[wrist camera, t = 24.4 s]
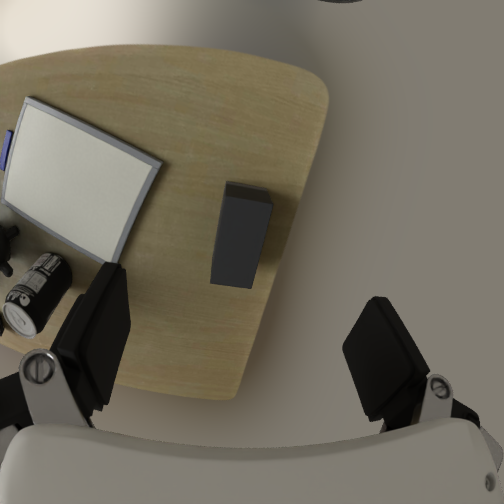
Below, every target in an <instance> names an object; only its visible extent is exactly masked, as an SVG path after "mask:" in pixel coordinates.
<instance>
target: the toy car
mask: <svg viewBox="0 0 504 504" xmlns="http://www.w3.org/2000/svg"><path fill="white" fill-rule="evenodd" d="M3 331H4V327H3V325H2V322H1V318H0V336H2V334H3Z"/></svg>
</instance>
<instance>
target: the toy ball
mask: <svg viewBox="0 0 504 504" xmlns="http://www.w3.org/2000/svg"><path fill="white" fill-rule="evenodd" d="M18 234H19V229H18V227H16V226H13V227H11V228H10V229H8V230H7V231H5V230H4V229H3V228H2V227H1V226H0V270H1V271H2V272H3V273H4V275H5V276H6V277H11V276H12V274H13V269H12V267H11V266H10V265H9V264H8V263H7V261H9V259H10V240H11V239H13V238H14V237H16V236H18Z"/></svg>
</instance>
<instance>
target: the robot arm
mask: <svg viewBox="0 0 504 504" xmlns="http://www.w3.org/2000/svg"><path fill="white" fill-rule="evenodd" d="M130 327H131V320H130V312H129V302H128V291H127V278H126V270H125V269H124V268H122V267H121V264H119V263H113V262H107V261H106V262H104V264H103V265H102V267H101V268H100V270H99V272H98V273H97V275H96V277H95V278H94V280H93V281H92V283H91V285H90V286H89V288H88V290H87V292H86V293H85V294H80V295H79V296H78V298H77V299H76V301H75V303H74V305H73V306H72V308H71V310H70V312H69V313H68V315H67V317H66V319H65V321H64V323H63V324H62V326H61V328H60V330H59V332H58V334H57V336H56V338H55V340H54V342H53V344H52V346H51V348H50V350H47V349H40V348H39V349H34V350H32V351H30V352H28V353H27V354H26V355H25V356H24V357H23V358H22V360H21V362H20V365H19V372H17V373H15V374H12V375H9V376H8V377H5V378H2V379H0V465H1V463H2V462H3V463H2V466H1V470H0V504H504V496H503V491H502V487H501V484H500V480H499V476H498V470H499V468H500V465H501V462H502V459H503V451H502V448H501V446H500V445H499V444H498V443H497V442H496V441H495V439H494V438H493V437H492V436H491V435H489V433H488V432H487V431H486V430H485V429H484V428H483V427H482V426H481V427H480V421H479V417H478V415H477V413H476V412H474V411H473V410H472V409H470V408H468V407H467V406H465V405H463V404H462V403H460V402H459V401H457V400H455V399H454V398H453V390H452V387H451V385H450V383H449V382H448V380H447V379H446V378H444V377H443V376H441V375H438V374H433V375H431V376H430V377H429V378H428V379H427V377H426V375H427V374H428V373H429V372H430V369H429V367H428V365H427V364H426V362H425V360H424V358H423V356H422V354H421V353H420V351H419V349H418V347H417V346H416V344H415V342H414V340H413V339H412V337H411V335H410V334H409V332H408V330H407V329H406V327H405V326H404V324H403V322H402V320H401V319H400V317H399V315H398V314H397V312H396V311H395V309H394V307H393V306H392V304H391V303H390V301H389V300H388V299H387V298H386V297H378V296H375V297H373V298H372V299H371V300H369V301H368V302H367V304H366V306H365V308H364V309H363V311H362V313H361V315H360V316H359V318H358V320H357V321H356V323H355V325H354V327H353V328H352V330H351V332H350V333H349V335H348V336H347V338H346V340H345V341H344V343H343V347H342V350H343V353H344V356H345V359H346V361H347V364H348V367H349V370H350V372H351V375H352V378H353V381H354V384H355V387H356V389H357V392H358V395H359V398H360V401H361V404H362V407H363V410H364V413H365V415H367V416H368V418H369V421H370V422H373V421H378V420H381V419H382V418H383V419H384V423H383V425H382V428H381V430H380V433H379V434H376V435H371V436H366V437H361V438H356V439H351V440H344V441H338V442H332V443H324V444H316V445H307V446H294V447H281V448H280V447H279V448H221V447H205V446H194V445H185V444H177V443H169V442H162V441H155V440H149V439H143V438H138V437H133V436H128V435H123V434H118V433H114V432H109V431H103V430H99V429H96V428H95V426H94V424H93V422H92V421H91V419H90V416H92V414H93V410H94V409H95V410H98V411H102V409H103V405H108V403H109V400H110V397H111V393H112V389H113V385H114V382H115V378H116V374H117V371H118V367H119V364H120V361H121V357H122V354H123V351H124V348H125V344H126V341H127V338H128V335H129V332H130Z"/></svg>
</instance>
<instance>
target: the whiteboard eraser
mask: <svg viewBox="0 0 504 504" xmlns="http://www.w3.org/2000/svg"><path fill="white" fill-rule="evenodd" d="M272 208H273V203H272V200H271V198H270V196H269V193H268V191H267V189H266V188H262V187H257V186H251V185H246V184H240V183H235V182H229V181H226V184H225V189H224V194H223V200H222V205H221V210H220V216H219V222H218V227H217V233H216V239H215V245H214V251H213V257H212V267H211V279H210V283H211V284H218V285H225V286H232V287H240V288H248V289H251V288H252V285H253V281H254V277H255V273H256V269H257V266H258V262H259V258H260V254H261V250H262V247H263V243H264V239H265V235H266V231H267V227H268V224H269V220H270V216H271V212H272Z"/></svg>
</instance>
